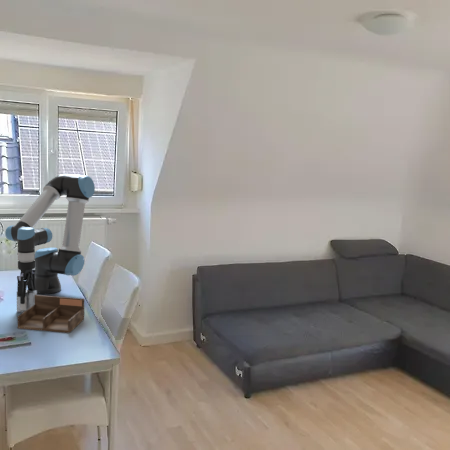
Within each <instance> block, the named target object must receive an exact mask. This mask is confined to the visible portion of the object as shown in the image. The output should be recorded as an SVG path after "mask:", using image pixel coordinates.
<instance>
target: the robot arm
mask: <svg viewBox="0 0 450 450" xmlns="http://www.w3.org/2000/svg"><path fill="white" fill-rule="evenodd" d="M95 191H96V189H95V183H94V180H93V178H92V177H91V176H89V175H85V174H73V173H72V174H71V173H62V174H59V175H57V176H54V177H53V178H51V179H50V180H49V181H48V182H47V183H46V184H45V186H43V188H42V192H41V193H40V194H39V196H38V197H37V198H36V199H35V201H34V202H33V203H32V204H31V205H30V206H29V208H28V209H27V210H26V212H25V213H24V214H23V216H21V218H20V219H19V220H18V221H17V223H15V225H9V226H7V227H6V229H5V233H4V234H5V237H6V239H7V240H9V241H13V242H17V260H18V261H17V269H18V270H20V275H17V277H16V280H17V289H16V290H17V291H16V297H17V296H18V297H20V310H27V298H26V296H25V295H26V290H35V291H37V295H47V294H48V295H49V294H55V293H58V292H60V291H61V290H62V285H61V281H60V279H59V275H63V276H64V275H66V276H74V277H75V276H78V275H79V274H80V273H81V272H82V271H83V268H84V265H85V257H84V255H82V250H81V248H80V241H81V234H82V228H83V223H84V222H83V221H84V214H85V208H86V204H87V203H88V202H89V201H90V198H92V197H93V196H94V194H95ZM62 196H65V198H66V199H67V202H68V204H67V210H66V211H67V212H66V217H65V225H64V231H63V232H64V233H63V236H62V237H63V238H62V239H63V240H62V243H61V244H62V245H61V246H60V247H59V248H57V247H45V248H39V249H37V250H36V247H37V246H41V245H46V244H47V243H50V242H52V239H53V232H52V231H51V229H50V228H48V227H41V228H36V227H35V226H36V225H37V224H38V223H39V221H40V220H41V219H42V218H43V216H44V215H45V214H46V212H47V211H48V210H49V209H50V207H51V206H52V205H53V204H54V202H55V201H56V200H59V199H60V198H61V197H62Z"/></svg>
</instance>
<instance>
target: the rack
mask: <svg viewBox="0 0 450 450" xmlns="http://www.w3.org/2000/svg"><path fill="white" fill-rule="evenodd" d="M84 320H85V298H78V297H70V296H69V297H67V296H58V295H57V296H55V295H45V294H37V295H35V305H33V306H32V307H30V308H29V309H27V310H26V311H25V312H21V313H20V314H19V315H17V320H16V321H17V329H18V330H19V329H20V330H33V331H45V332H56V333H66V334H70V333H71V332H72V331H73V330H75V329H76V328H77V327H78V326H79V325H80V324H81V323H82V322H83V321H84Z"/></svg>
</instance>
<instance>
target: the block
mask: <svg viewBox="0 0 450 450" xmlns="http://www.w3.org/2000/svg"><path fill="white" fill-rule="evenodd" d="M35 295H38V293H37V291H35V290H28V289H26V295H25V296H26V298H27V309H29V308H30V307H32V306H33V305H35ZM25 311H26V310H20V297H18V296H17V295H16V313H23V312H25Z"/></svg>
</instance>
